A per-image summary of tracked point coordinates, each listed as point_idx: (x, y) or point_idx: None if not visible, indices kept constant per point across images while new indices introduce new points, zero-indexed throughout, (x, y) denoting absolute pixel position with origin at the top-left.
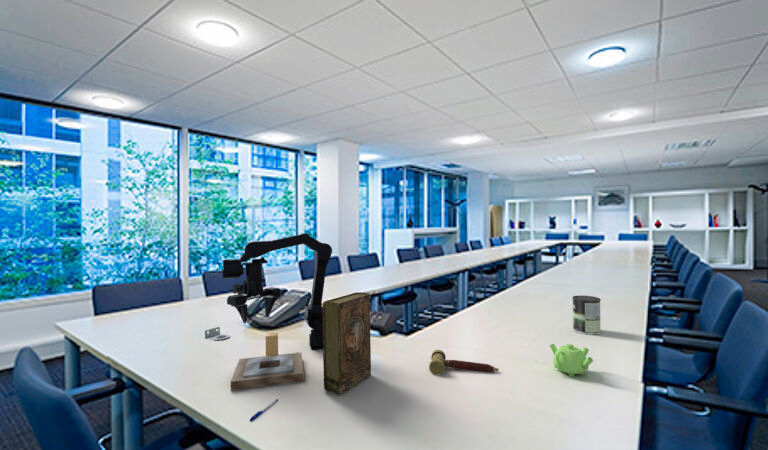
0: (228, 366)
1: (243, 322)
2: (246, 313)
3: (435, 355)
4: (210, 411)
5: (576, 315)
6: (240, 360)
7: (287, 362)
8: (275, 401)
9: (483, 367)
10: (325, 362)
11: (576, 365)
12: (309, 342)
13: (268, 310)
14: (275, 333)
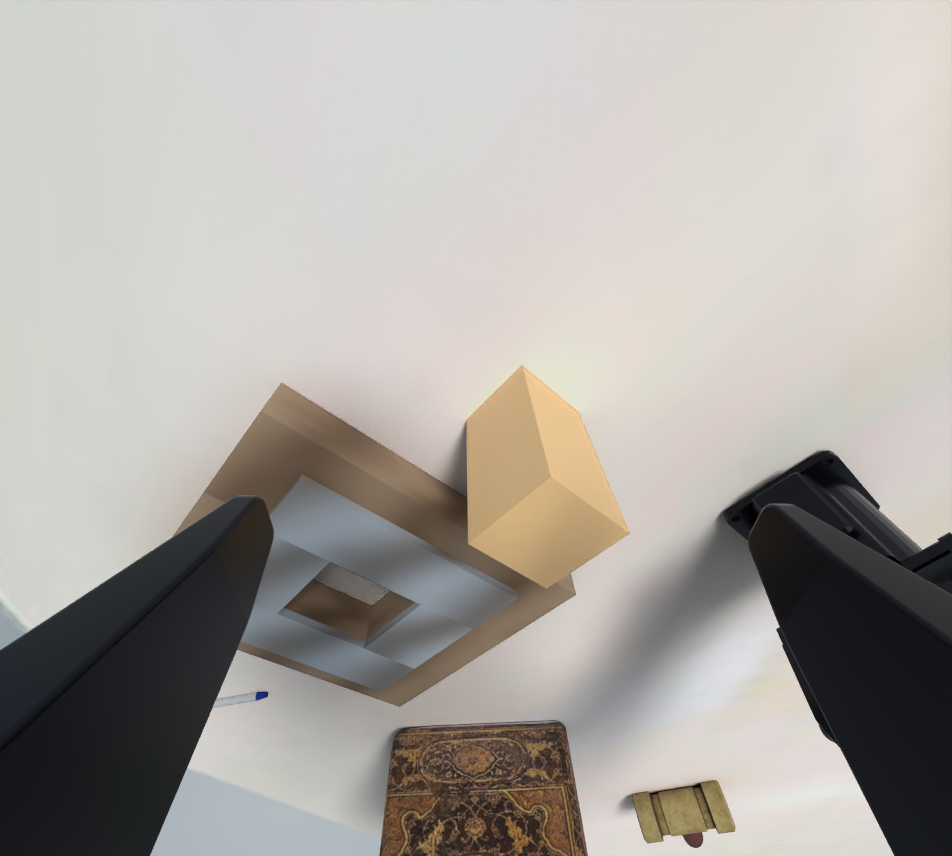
0: (217, 314)
1: (232, 505)
2: (146, 815)
3: (693, 829)
4: None
5: None
6: (255, 440)
7: (418, 643)
8: (255, 699)
9: (685, 840)
10: (386, 846)
11: None
12: (785, 499)
13: (825, 691)
14: (584, 544)
